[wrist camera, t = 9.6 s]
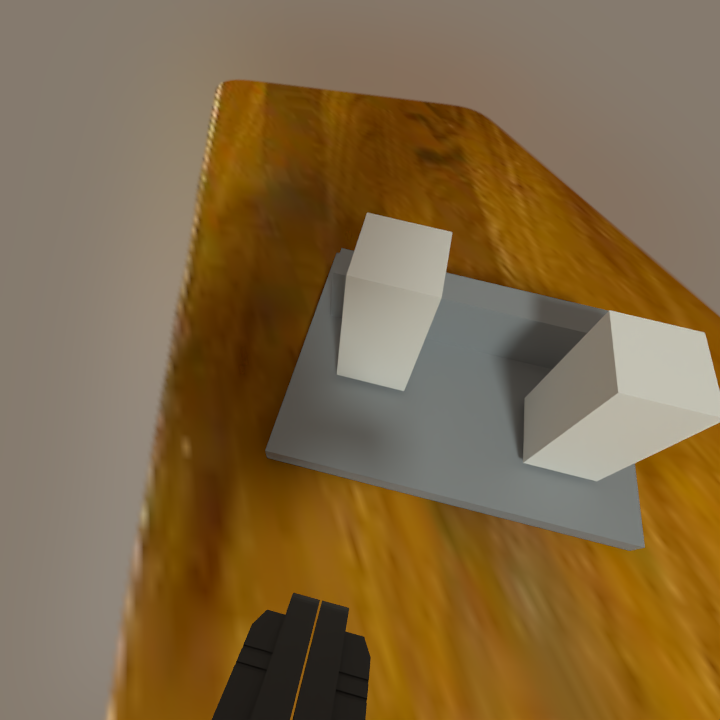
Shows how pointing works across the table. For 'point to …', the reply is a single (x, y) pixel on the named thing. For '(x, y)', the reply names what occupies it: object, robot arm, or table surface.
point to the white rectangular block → (620, 397)
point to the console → (454, 412)
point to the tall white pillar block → (390, 299)
